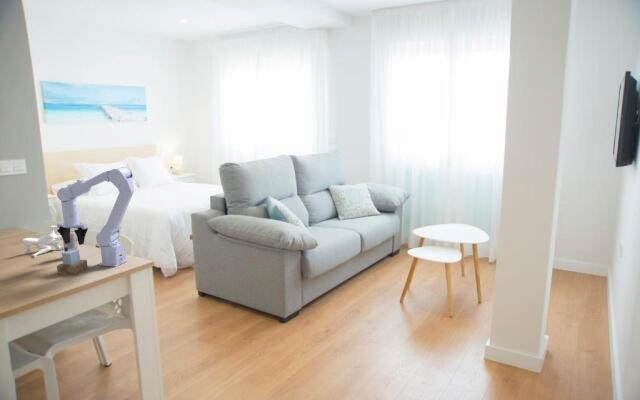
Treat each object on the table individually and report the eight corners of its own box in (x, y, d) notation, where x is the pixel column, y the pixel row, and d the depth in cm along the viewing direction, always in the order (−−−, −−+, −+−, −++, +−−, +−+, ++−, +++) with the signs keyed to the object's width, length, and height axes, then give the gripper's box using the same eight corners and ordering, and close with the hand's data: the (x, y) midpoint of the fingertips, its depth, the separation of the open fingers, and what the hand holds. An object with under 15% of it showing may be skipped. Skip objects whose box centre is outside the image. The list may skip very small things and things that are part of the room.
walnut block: (87, 268, 186) (86, 259, 186) (75, 275, 179) (74, 266, 178) (71, 268, 187) (69, 259, 187) (58, 275, 180) (56, 265, 179)
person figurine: (23, 236, 199) (62, 222, 213) (13, 239, 207) (50, 224, 221) (36, 262, 202) (73, 245, 216) (25, 263, 209) (61, 247, 224)
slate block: (80, 261, 184) (78, 250, 183) (71, 265, 180) (70, 253, 179) (72, 260, 185) (70, 249, 184) (63, 264, 181) (61, 253, 180)
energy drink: (68, 255, 205) (65, 231, 203) (80, 254, 205) (77, 230, 203) (63, 258, 200) (59, 234, 198) (75, 258, 200) (71, 233, 198)
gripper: (49, 215, 186) (53, 245, 189) (76, 216, 182) (80, 247, 185) (62, 211, 193) (67, 240, 195) (89, 213, 189) (93, 242, 191)
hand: (74, 243), depth 190 cm, fingers open, 7 cm apart
